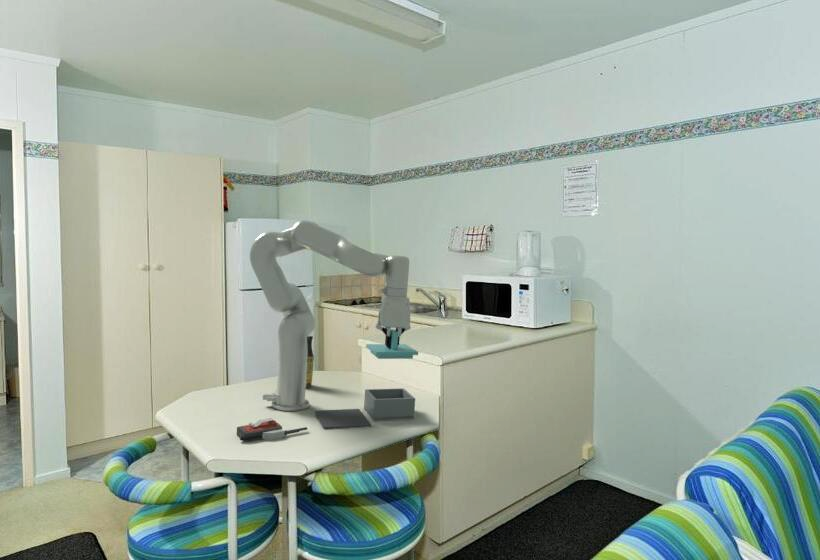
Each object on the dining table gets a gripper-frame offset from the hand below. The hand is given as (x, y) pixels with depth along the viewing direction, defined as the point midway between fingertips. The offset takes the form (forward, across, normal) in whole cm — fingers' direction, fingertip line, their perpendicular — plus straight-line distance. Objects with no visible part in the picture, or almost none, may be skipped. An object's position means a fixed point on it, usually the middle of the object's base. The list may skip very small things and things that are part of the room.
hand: (391, 347), depth 180 cm
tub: (+23, 0, 0) cm, 23 cm away
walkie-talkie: (+24, -39, -12) cm, 48 cm away
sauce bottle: (+23, -22, +37) cm, 49 cm away
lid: (+3, 0, 0) cm, 3 cm away
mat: (+23, -16, -3) cm, 28 cm away
